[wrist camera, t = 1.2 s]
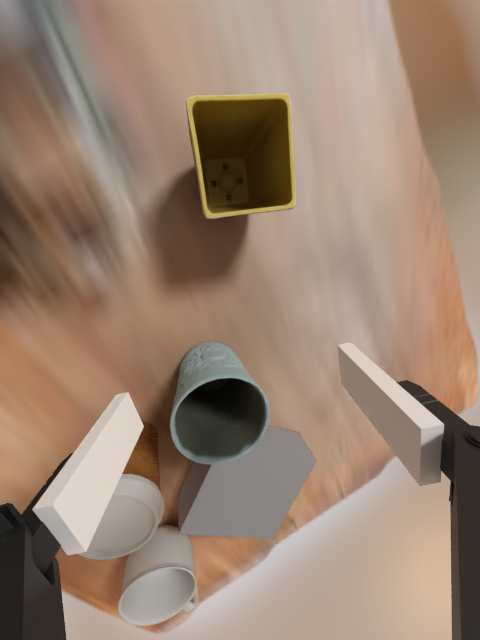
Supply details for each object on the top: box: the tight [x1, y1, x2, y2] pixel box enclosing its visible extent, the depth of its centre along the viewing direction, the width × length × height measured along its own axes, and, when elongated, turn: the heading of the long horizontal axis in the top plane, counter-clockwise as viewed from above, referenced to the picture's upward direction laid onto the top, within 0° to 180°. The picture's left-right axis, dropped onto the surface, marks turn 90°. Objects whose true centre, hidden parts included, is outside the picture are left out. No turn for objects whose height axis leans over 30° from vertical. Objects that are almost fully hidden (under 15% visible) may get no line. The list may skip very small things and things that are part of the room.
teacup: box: [118, 525, 198, 626], centre depth 38 cm, size 14×11×8 cm
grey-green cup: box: [170, 342, 270, 465], centre depth 29 cm, size 10×10×12 cm
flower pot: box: [186, 93, 296, 219], centre depth 24 cm, size 9×9×9 cm
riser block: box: [179, 426, 317, 539], centre depth 38 cm, size 16×16×6 cm
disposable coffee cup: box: [78, 422, 164, 560], centre depth 29 cm, size 10×10×12 cm
